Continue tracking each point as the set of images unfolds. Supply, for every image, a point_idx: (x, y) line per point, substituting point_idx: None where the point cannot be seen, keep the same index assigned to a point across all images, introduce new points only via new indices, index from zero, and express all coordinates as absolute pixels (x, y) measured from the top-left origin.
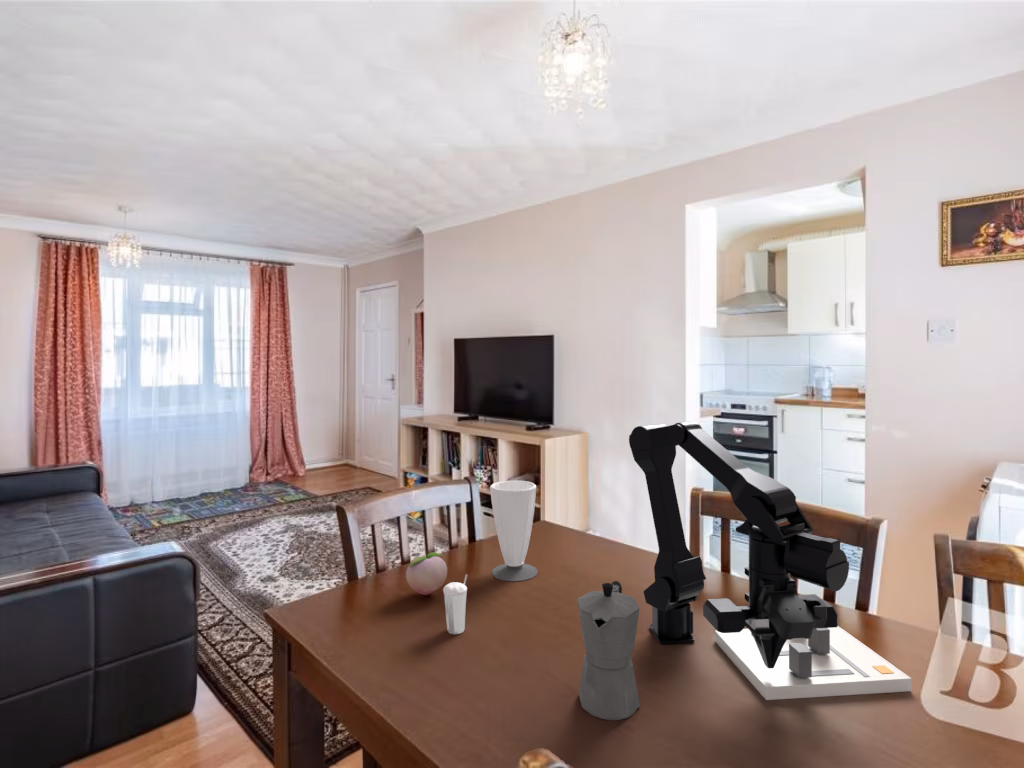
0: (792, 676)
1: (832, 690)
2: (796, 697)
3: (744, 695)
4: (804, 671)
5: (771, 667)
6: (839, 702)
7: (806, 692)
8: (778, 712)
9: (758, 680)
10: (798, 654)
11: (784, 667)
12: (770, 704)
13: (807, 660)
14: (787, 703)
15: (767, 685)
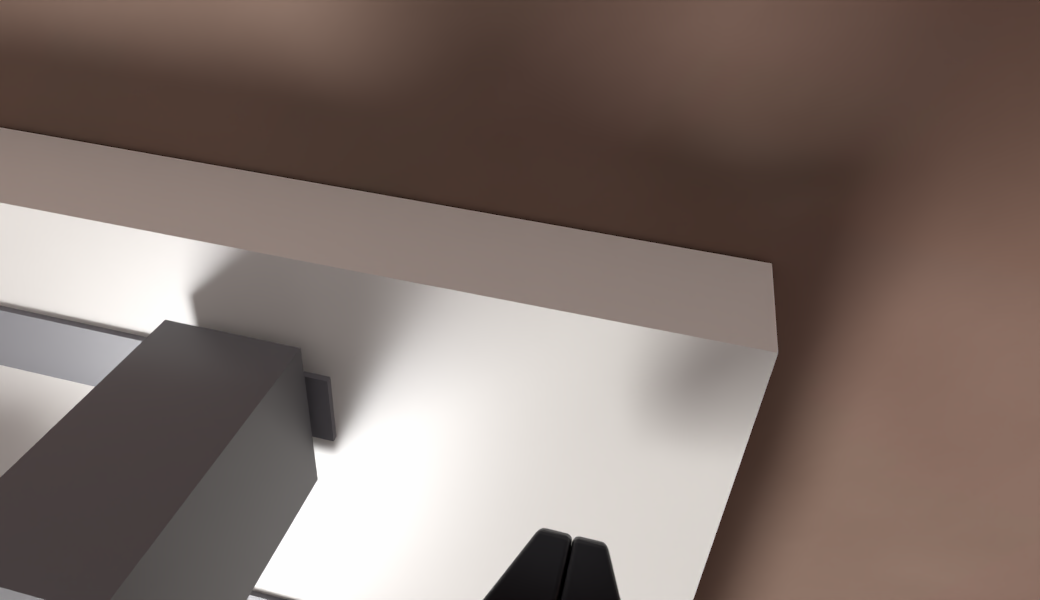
0: (346, 394)
1: (55, 167)
2: (437, 207)
3: (930, 378)
4: (200, 382)
5: (568, 541)
6: (67, 49)
7: (315, 211)
8: (809, 56)
9: (733, 461)
10: (131, 587)
11: (345, 502)
12: (780, 198)
13: (71, 475)
14: (583, 164)
15: (735, 368)
